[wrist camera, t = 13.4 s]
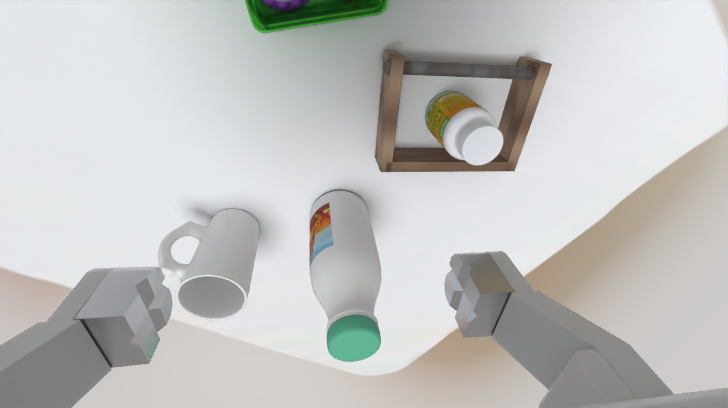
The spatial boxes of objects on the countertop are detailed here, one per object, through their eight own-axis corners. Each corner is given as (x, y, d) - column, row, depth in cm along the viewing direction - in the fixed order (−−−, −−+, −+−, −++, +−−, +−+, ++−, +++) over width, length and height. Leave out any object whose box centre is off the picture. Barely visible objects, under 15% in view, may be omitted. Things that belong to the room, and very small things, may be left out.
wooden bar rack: (378, 50, 33) (386, 56, 30) (534, 57, 36) (557, 64, 32) (370, 156, 40) (375, 172, 36) (502, 157, 42) (518, 171, 39)
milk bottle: (346, 177, 41) (370, 304, 24) (377, 217, 45) (415, 349, 28) (298, 208, 42) (288, 347, 26) (331, 244, 46) (342, 383, 30)
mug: (271, 221, 43) (259, 290, 33) (247, 254, 45) (229, 327, 35) (195, 184, 39) (155, 251, 29) (173, 223, 41) (129, 296, 31)
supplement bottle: (422, 96, 36) (453, 126, 28) (468, 85, 36) (513, 111, 28) (426, 140, 39) (455, 178, 31) (468, 129, 39) (509, 165, 31)
